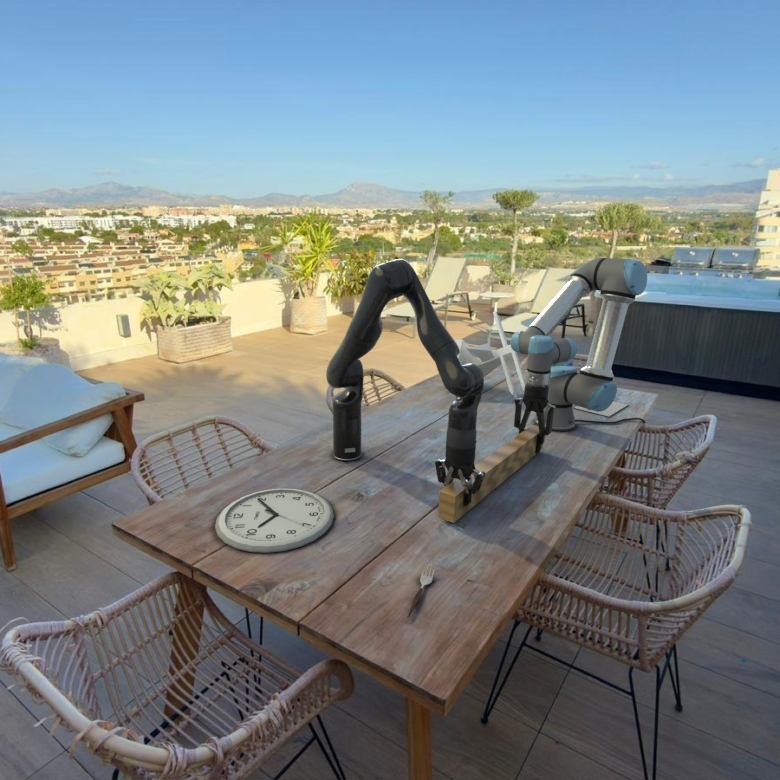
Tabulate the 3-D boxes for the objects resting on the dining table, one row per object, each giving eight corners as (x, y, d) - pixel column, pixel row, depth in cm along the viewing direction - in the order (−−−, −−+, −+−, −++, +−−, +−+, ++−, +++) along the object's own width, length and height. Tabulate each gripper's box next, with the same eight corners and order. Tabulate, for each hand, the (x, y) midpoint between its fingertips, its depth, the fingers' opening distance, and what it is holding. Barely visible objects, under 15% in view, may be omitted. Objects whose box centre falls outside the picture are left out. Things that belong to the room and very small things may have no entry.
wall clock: (332, 544, 122) (200, 548, 120) (332, 550, 123) (201, 555, 120) (334, 484, 151) (228, 486, 148) (334, 489, 151) (228, 491, 149)
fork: (401, 617, 102) (401, 609, 101) (424, 570, 116) (425, 562, 116) (414, 621, 101) (414, 612, 100) (436, 572, 115) (436, 565, 115)
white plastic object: (461, 429, 252) (437, 405, 227) (444, 352, 274) (420, 323, 250) (535, 404, 240) (518, 377, 215) (510, 326, 262) (492, 293, 237)
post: (529, 445, 182) (532, 424, 179) (542, 448, 179) (545, 427, 177) (438, 517, 136) (439, 490, 133) (453, 523, 133) (455, 496, 131)
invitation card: (608, 416, 214) (573, 407, 224) (608, 416, 214) (573, 408, 224) (628, 404, 229) (594, 396, 238) (628, 405, 229) (594, 397, 238)
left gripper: (429, 439, 134) (426, 498, 139) (479, 454, 126) (474, 516, 131) (444, 430, 140) (441, 488, 145) (493, 444, 131) (488, 504, 137)
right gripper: (506, 381, 171) (500, 447, 178) (560, 392, 161) (551, 461, 168) (516, 376, 177) (510, 440, 184) (568, 386, 167) (559, 453, 174)
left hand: (457, 501), depth 138 cm, fingers closed on post, 4 cm apart
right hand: (530, 450), depth 176 cm, fingers closed on post, 5 cm apart
